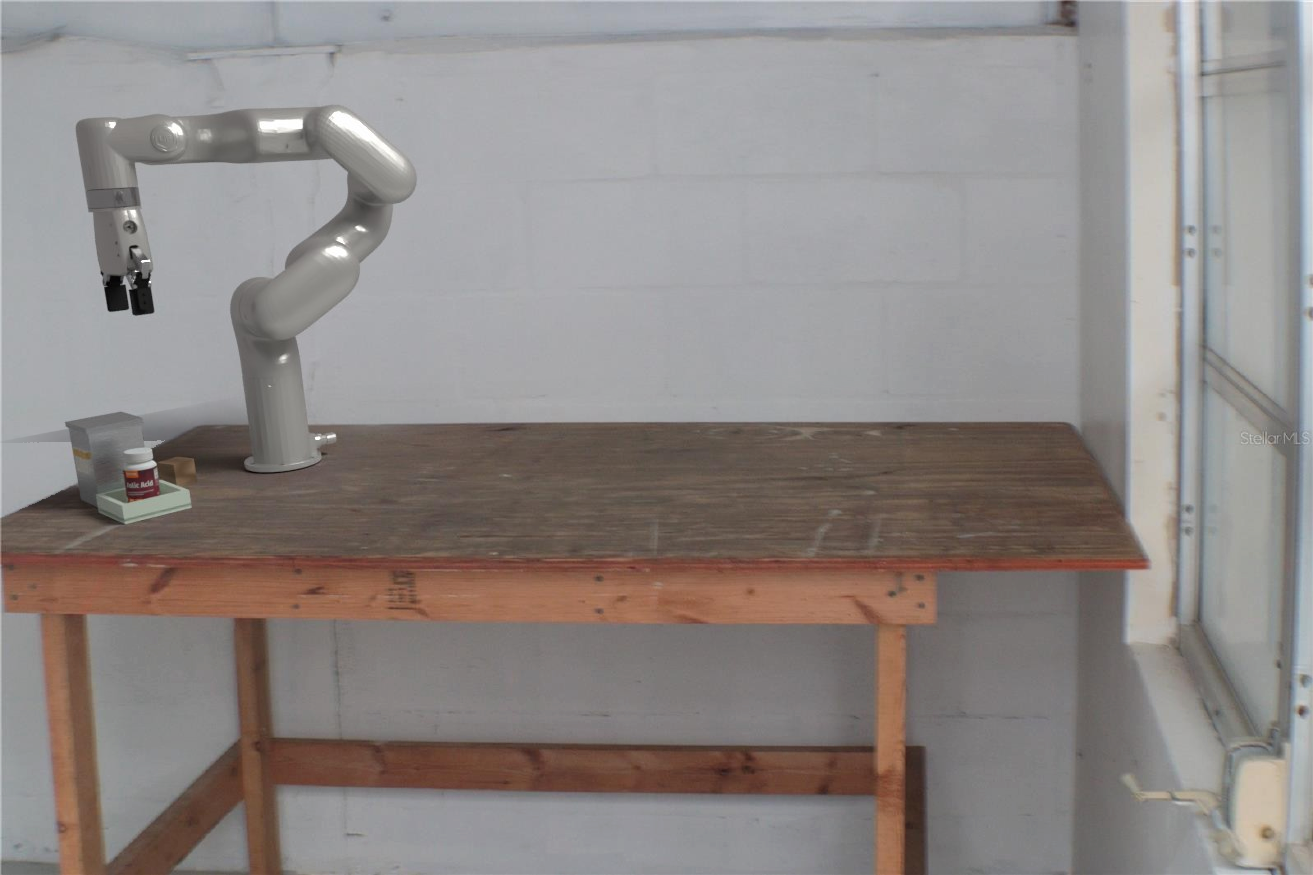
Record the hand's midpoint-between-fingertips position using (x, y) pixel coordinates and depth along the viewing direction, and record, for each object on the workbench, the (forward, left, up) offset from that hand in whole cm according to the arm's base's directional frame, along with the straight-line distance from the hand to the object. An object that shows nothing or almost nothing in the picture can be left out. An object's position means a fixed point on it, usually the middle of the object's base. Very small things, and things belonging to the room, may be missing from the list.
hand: (131, 312), depth 189 cm
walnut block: (-3, +1, -28) cm, 29 cm away
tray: (+7, +12, -28) cm, 32 cm away
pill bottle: (+7, +12, -28) cm, 31 cm away
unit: (+7, +1, -28) cm, 29 cm away
